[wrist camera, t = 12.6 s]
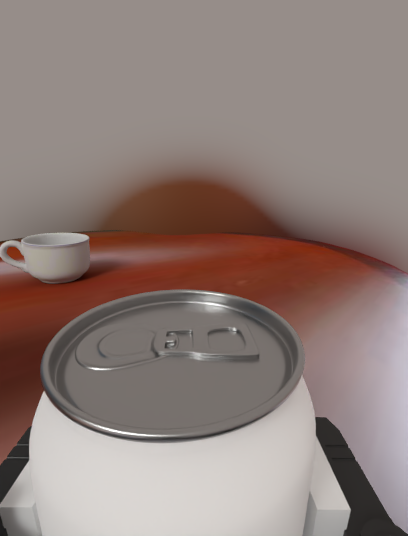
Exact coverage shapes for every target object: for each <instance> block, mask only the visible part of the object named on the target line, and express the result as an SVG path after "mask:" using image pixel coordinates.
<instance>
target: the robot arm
mask: <svg viewBox="0 0 408 536" xmlns="http://www.w3.org/2000/svg"><path fill="white" fill-rule="evenodd" d="M315 421H316V444H315V454H314V462H313V471H312V477H311V484H310V491H309V497H308V504H307V510H306V517H305V523H304V529H303V535H302V536H408V534H407V533H405V532H404V531H403V530H402V529H401V528H399V527H398V526H396V525H395V524H394V523H393V522H392V520H391V519H390V517H389V516H388V514H387V512H386V511H385V509H384V507H383V506H382V504H381V502H380V500H379V499H378V497H377V495H376V493H375V492H374V490H373V488H372V486H371V485H370V483H369V481H368V480H367V478H366V476H365V474H364V473H363V471H362V469H361V467H360V466H359V464H358V462H356V460H355V457H354V455H353V454H352V452H351V450H350V448H348V445H347V443H346V441H345V440H344V438H343V436H342V434H341V433H340V431H339V430H338V429H337V428H336V427H335V426H334V425H333V424H332V423H331V422H330V421H329V420H328V419H327V418H325V417H315ZM31 428H32V426H31V427H29V428H28V429H27V431H26V432H25V433H24V435H23V436H22V437H21V439H20V440H19V441H18V443H17V446H15V447H14V448H13V449H12V451H11V452H10V453H9V455H8V456H7V459H6V460H4V461H3V463H2V464H1V465H0V536H42V531H41V527H40V522H39V517H38V512H37V507H36V503H35V497H34V491H33V485H32V480H31V473H30V460H29V440H30V432H31Z"/></svg>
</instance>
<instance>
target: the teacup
mask: <svg viewBox="0 0 408 536" xmlns="http://www.w3.org/2000/svg"><path fill="white" fill-rule="evenodd" d="M9 247H16V248H18V249H19V250H20V252H21V254H22V255H24V257H25V262H26V263H21V262H18V261H15V260H13V259H12V258H10V257H9V256H8V255H7V253H6V251H7V248H9ZM0 257H1V258H2V259H3V260H4V261H5V262H6V263H8V264H10V265H12V266H14V267H17V268H20V269H22V270H23V271H24V272H26V273H30V274H31V275H32V276H33V277H35V278H37V279H39V280H40V281H42V282H45V283H51V284H57V283H66V282H71V281H74V280H77V279H78V278H80V277H81V276H82V275H83V274H84V273H85V272H86V271H87V270H88V268H89V265H90V250H89V237H88V236H87V235H83V234H76V233H48V234H39V235H33V236H29V237H25V238H23V239H22V240H21V243H20V242H18V241H7V242H5V243H3V244H2V245H1V247H0Z"/></svg>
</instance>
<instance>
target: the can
mask: <svg viewBox="0 0 408 536" xmlns="http://www.w3.org/2000/svg"><path fill="white" fill-rule="evenodd" d="M304 365H305V353H304V348H303V345H302V342H301V340H300V338H299V336H298V334H297V333H296V331H295V330H294V329H293V327H292V326H291V325H290V324H289V323H288V322H287V321H286V320H285V319H283V318H282V317H281V316H279V315H278V314H277V313H275V312H274V311H272V310H270V309H268V308H266V307H265V306H262V305H260V304H258V303H256V302H253V301H250V300H248V299H244V298H241V297H238V296H234V295H229V294H225V293H219V292H212V291H203V290H164V291H155V292H147V293H141V294H136V295H132V296H127V297H124V298H120V299H117V300H114V301H111V302H108V303H105V304H102V305H100V306H98V307H95V308H93V309H91V310H89V311H87V312H85V313H83V314H82V315H80V316H78V317H77V318H75V319H74V320H72V321H71V322H69V323H68V324H67V325H66V326H64V327H63V328H62V329H61V330H60V331H59V332H58V333H57V334H56V335H55V336H54V338H53V339H52V340H51V341H50V343H49V344H48V346H47V348H46V350H45V352H44V354H43V357H42V361H41V366H40V377H41V382H42V386H43V389H44V392H43V394H42V397H41V399H40V402H39V404H38V407H37V410H36V413H35V416H34V419H33V423H32V428H31V432H30V440H29V460H30V473H31V480H32V485H33V491H34V497H35V503H36V507H37V512H38V517H39V522H40V527H41V531H42V536H302V535H303V529H304V523H305V517H306V510H307V504H308V497H309V491H310V484H311V477H312V471H313V462H314V454H315V444H316V421H315V413H314V408H313V404H312V400H311V397H310V394H309V391H308V388H307V386H306V383H305V381H304V378H303V376H302V374H303V370H304Z"/></svg>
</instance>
